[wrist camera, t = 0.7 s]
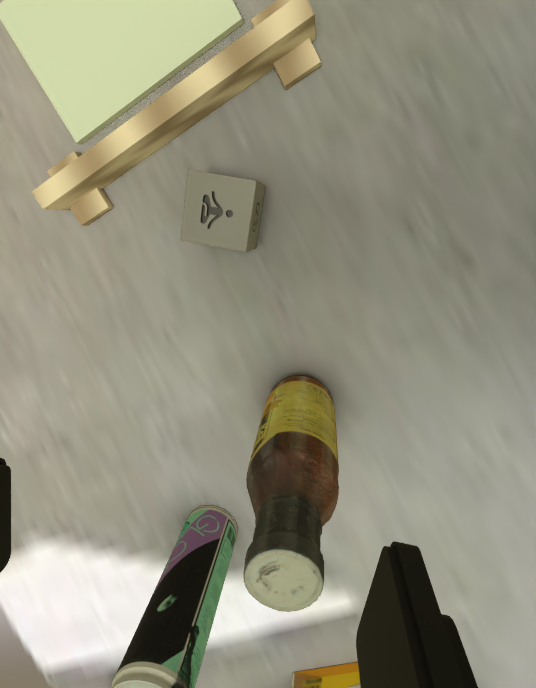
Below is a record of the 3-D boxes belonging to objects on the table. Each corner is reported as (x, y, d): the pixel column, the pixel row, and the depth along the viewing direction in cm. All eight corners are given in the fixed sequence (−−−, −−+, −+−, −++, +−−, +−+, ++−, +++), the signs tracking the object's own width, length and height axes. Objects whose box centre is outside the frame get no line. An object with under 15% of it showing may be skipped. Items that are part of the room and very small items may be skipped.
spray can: (207, 495, 44) (117, 707, 25) (248, 528, 44) (190, 760, 25) (176, 526, 46) (70, 748, 26) (216, 557, 46) (139, 796, 27)
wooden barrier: (294, -6, 31) (289, -37, 27) (326, 62, 32) (326, 40, 28) (49, 175, 37) (18, 171, 33) (83, 228, 38) (56, 229, 34)
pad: (164, -133, 30) (159, -143, 29) (244, 23, 32) (241, 18, 31) (1, 13, 34) (-6, 8, 33) (81, 144, 36) (76, 142, 35)
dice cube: (206, 175, 35) (187, 168, 30) (265, 185, 35) (256, 180, 30) (199, 237, 37) (180, 240, 32) (255, 247, 36) (245, 252, 32)
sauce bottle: (262, 377, 40) (203, 523, 21) (329, 368, 38) (333, 513, 20) (274, 440, 41) (231, 629, 22) (339, 433, 40) (352, 625, 21)
